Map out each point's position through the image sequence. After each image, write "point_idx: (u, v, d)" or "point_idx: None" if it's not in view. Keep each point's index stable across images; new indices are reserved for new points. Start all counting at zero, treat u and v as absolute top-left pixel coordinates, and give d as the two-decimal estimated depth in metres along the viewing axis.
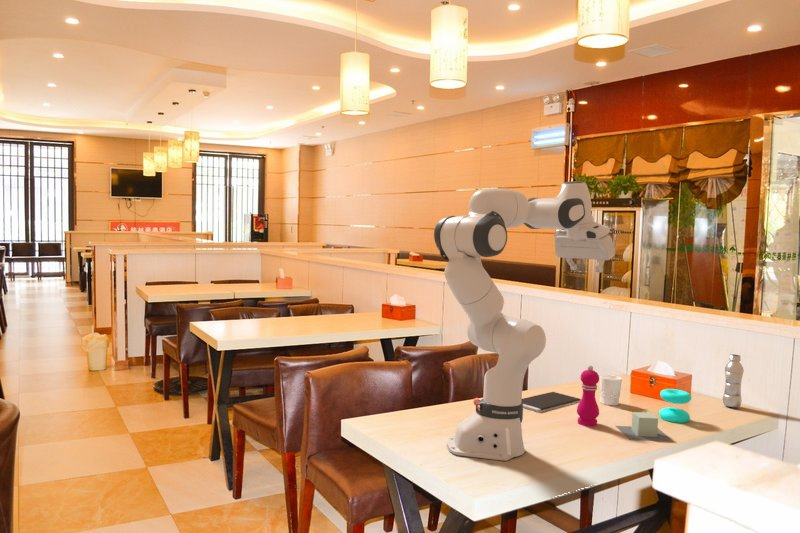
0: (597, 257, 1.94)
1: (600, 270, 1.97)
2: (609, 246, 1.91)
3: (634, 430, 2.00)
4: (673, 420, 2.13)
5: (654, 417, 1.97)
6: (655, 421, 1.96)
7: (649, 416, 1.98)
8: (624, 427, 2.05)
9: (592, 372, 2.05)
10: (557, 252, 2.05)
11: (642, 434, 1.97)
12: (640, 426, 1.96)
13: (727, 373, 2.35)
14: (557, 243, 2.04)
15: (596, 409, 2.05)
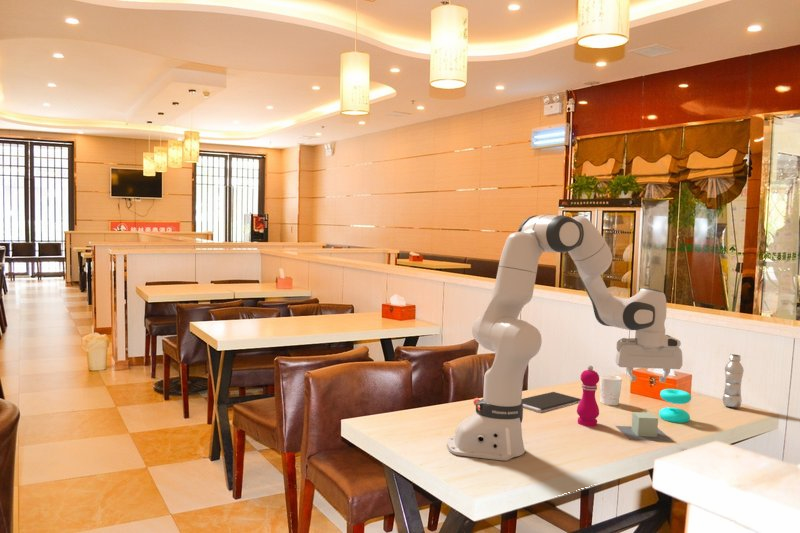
0: (669, 366, 1.96)
1: None
2: None
3: (634, 430, 2.00)
4: (673, 420, 2.13)
5: (654, 417, 1.97)
6: (655, 421, 1.96)
7: (649, 416, 1.98)
8: (624, 427, 2.05)
9: (592, 372, 2.05)
10: (622, 361, 1.97)
11: (642, 434, 1.97)
12: (640, 426, 1.96)
13: (727, 373, 2.35)
14: (624, 352, 1.96)
15: (596, 409, 2.05)
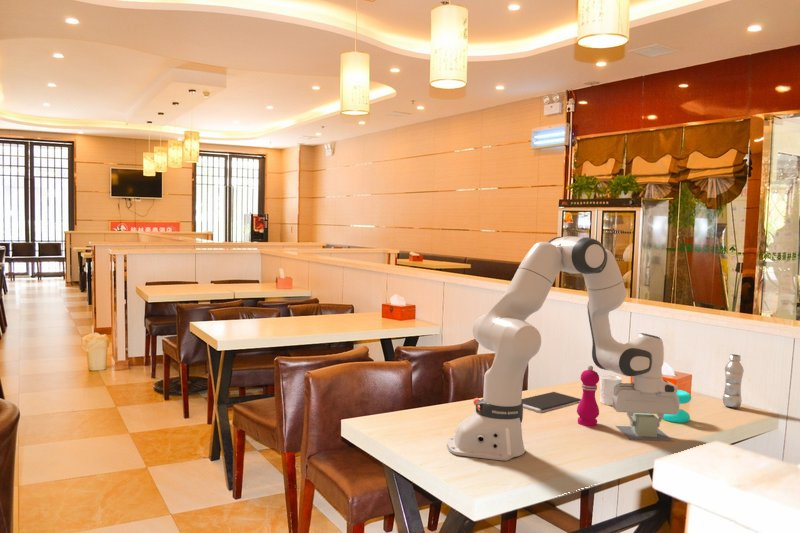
0: (666, 411, 1.97)
1: None
2: None
3: (633, 430, 2.00)
4: (673, 420, 2.13)
5: (654, 417, 1.97)
6: (655, 421, 1.96)
7: (649, 416, 1.98)
8: (624, 427, 2.05)
9: (592, 372, 2.05)
10: (619, 406, 1.97)
11: (642, 434, 1.97)
12: (640, 426, 1.96)
13: (727, 373, 2.35)
14: (621, 397, 1.97)
15: (596, 409, 2.05)
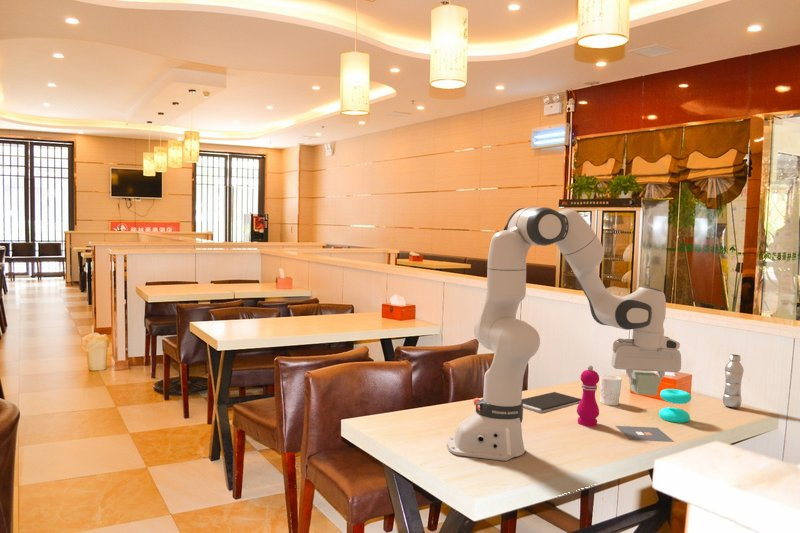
0: (667, 369, 1.87)
1: None
2: None
3: (633, 389, 1.90)
4: (673, 420, 2.13)
5: (654, 375, 1.87)
6: (656, 379, 1.86)
7: (649, 374, 1.88)
8: (624, 427, 2.05)
9: (592, 372, 2.05)
10: (618, 363, 1.87)
11: (642, 392, 1.87)
12: (640, 384, 1.87)
13: (727, 373, 2.35)
14: (621, 353, 1.87)
15: (596, 409, 2.05)
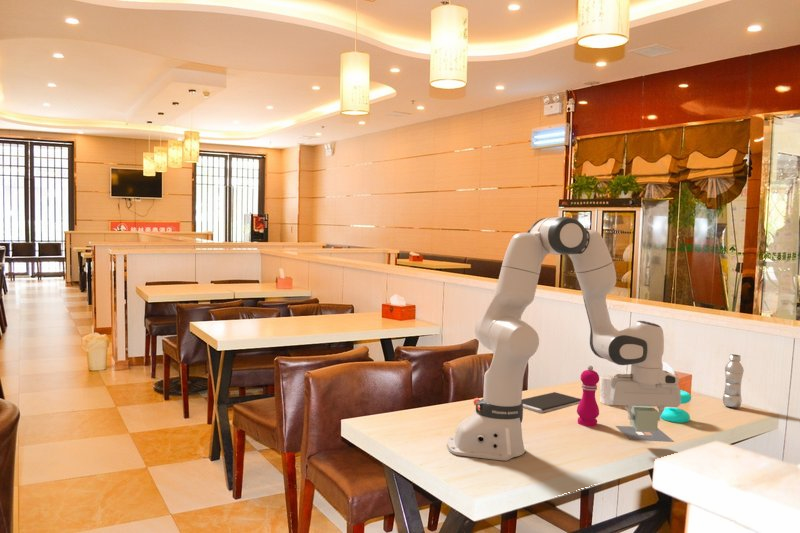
0: (667, 404, 1.85)
1: None
2: None
3: (632, 424, 1.88)
4: (673, 420, 2.13)
5: (654, 410, 1.85)
6: (655, 414, 1.84)
7: (649, 409, 1.86)
8: (624, 427, 2.05)
9: (592, 372, 2.05)
10: (617, 399, 1.85)
11: (641, 428, 1.85)
12: (639, 420, 1.84)
13: (727, 373, 2.35)
14: (619, 389, 1.85)
15: (596, 409, 2.05)
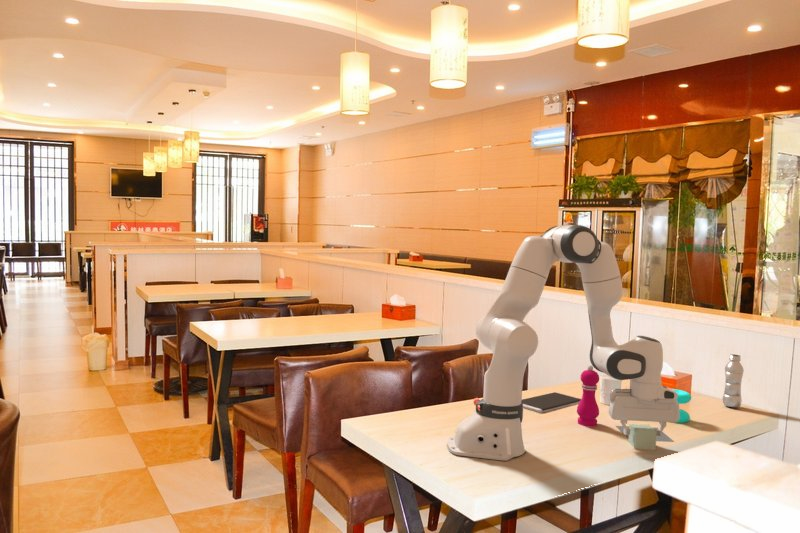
0: (665, 419, 1.85)
1: None
2: None
3: (631, 443, 1.88)
4: None
5: (652, 430, 1.85)
6: (653, 434, 1.84)
7: (647, 428, 1.86)
8: None
9: (592, 372, 2.05)
10: (616, 414, 1.86)
11: (640, 448, 1.85)
12: (637, 439, 1.85)
13: (727, 373, 2.35)
14: (618, 403, 1.85)
15: (596, 409, 2.05)
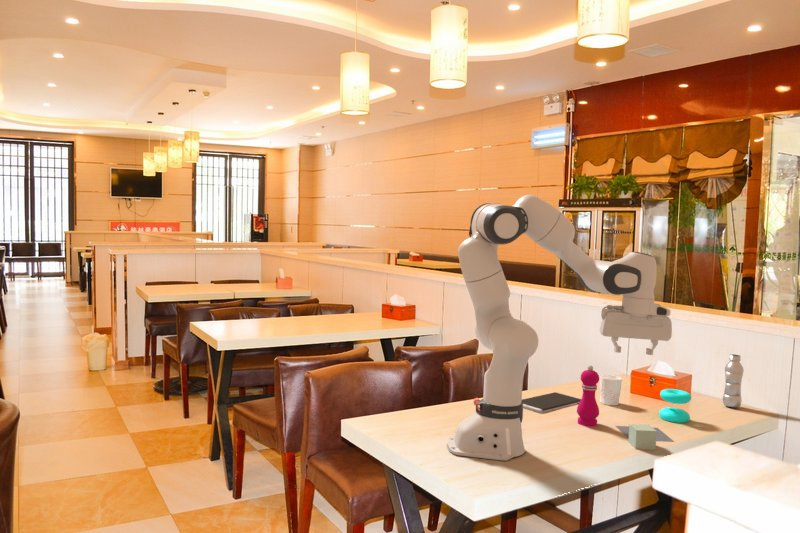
0: (657, 337, 1.82)
1: None
2: None
3: (631, 443, 1.88)
4: (673, 420, 2.13)
5: (652, 430, 1.85)
6: (653, 434, 1.84)
7: (647, 428, 1.86)
8: (624, 427, 2.05)
9: (592, 372, 2.05)
10: (607, 330, 1.82)
11: (640, 448, 1.85)
12: (637, 439, 1.85)
13: (727, 373, 2.35)
14: (609, 319, 1.82)
15: (596, 409, 2.05)
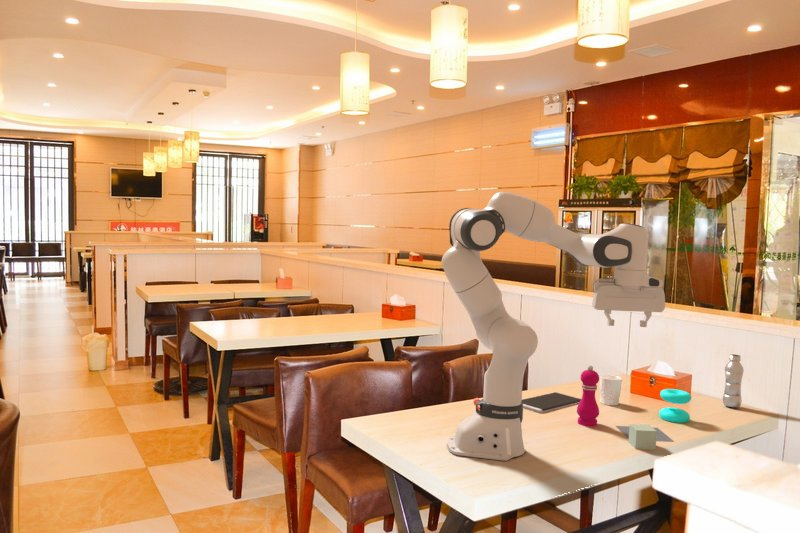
0: (650, 309, 1.79)
1: None
2: None
3: (631, 443, 1.88)
4: (673, 420, 2.13)
5: (652, 430, 1.85)
6: (653, 434, 1.84)
7: (647, 428, 1.86)
8: (624, 427, 2.05)
9: (592, 372, 2.05)
10: (599, 303, 1.80)
11: (640, 448, 1.85)
12: (637, 439, 1.85)
13: (727, 373, 2.35)
14: (602, 293, 1.80)
15: (596, 409, 2.05)
